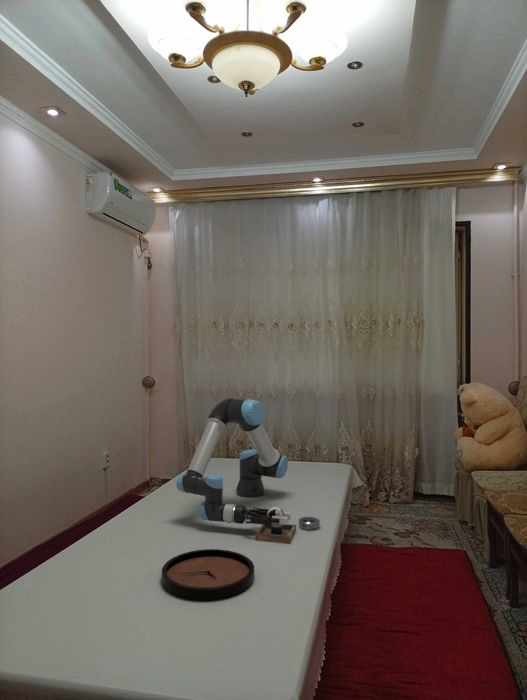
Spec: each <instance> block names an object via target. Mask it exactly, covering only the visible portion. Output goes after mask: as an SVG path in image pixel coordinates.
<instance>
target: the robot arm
mask: <svg viewBox="0 0 527 700" xmlns="http://www.w3.org/2000/svg"><path fill="white" fill-rule="evenodd" d="M264 418H265V413H264V407H263V405H262V403H261V402H259V400H255V399H249V398H248V399H246V398H245V399H244V398H232V397H231V398H230V397H229V398H225V399H223V400H221V401H220V402H218V403H217V404H216V405H215V406H214V407H213V409H211V411H210V413H209V415H208V417H207V419H206V421H207V425H206V426H205V428H204V432H203V434H202V436H201V439H200V440H199V443H198V445H197V447H196V449H195V452H194V454H193V456H192V459H191V461H190V463H189V466H188V469H187V470H186V472H185V473H184V474H180V475H179V476H178V477H177V480H176V488H177V490H178V491H179V492H182V493H186V494H190V495H191V494H192V495H196V496H197V495H198V496H203V497H204V501H202V502H201V504H200V505H199V513H198V515H199V518H200V519H201V520H204V521H209V522H222V523H227V524H234V523H235V524H239V525H240V524H242V525H243V524H244V523H245V524H253V525H261V526H262V525H270V526H271V525H272V523H274V524H285V525H288V524H289V521H291V519H292V518H291V514H292V513H289V512H284V514H285V516H286V517H280V515H279V513H278V511H277V510H272V511H271V512H269V514H268V515H269V517H268V516H267V513H268V511H269V509H270V508H269V509H268V508H259V507H253V508H252V509H251V508H250V509H247V507H246V506H245V505H244V504H234V503H233V504H232V503H224V501H223V499H224V498H223V497H224V492H223V491H224V490H223V489H224V483H223V481H224V480H223V476H222V475H221V474H217V473H216V474H215V473H211V474H207V475H205V477H204V474H205V472H206V470H207V469H208V465H209V462H210V460H211V458H212V455H213V453H214V450H215V448H216V446H217V445H218V444H217V443H218V441H219V439H220V437H221V434H222V431H223V430H225V429H226V428H227V425H229V423H231V424H237V425H238V427H239V428H240V430H241V431H243V432H245V433H246V435H247V437H248V438H249V441H250V442H251V444H252V446H253V448H252V449H246V450H242V451H241V452H240V453H239V480H238V481H237V483H238V484H237V486H236V488H235V490H236V491H235V493H236V495H237V496H240V497H243V498H258V497H261V496H263V495H265V494H266V493H265V491H266V490H265V486H264V482H263V480H262V477H269V478H274V479H283V478H284V477H285V475H286V473H287V471H288V466H289V460H288V457H287V456H286V455H285V454H283V455H282V454H281V453H280V451H279V450H278V449H277V448H275V447H274V446H273V444H272V442H271V440H270V438H269V436H268V434H267V432H266V429H265V428H264V426H263V424H262V423H263V420H264Z"/></svg>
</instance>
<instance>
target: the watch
mask: <svg viewBox="0 0 527 700" xmlns="http://www.w3.org/2000/svg"><path fill="white" fill-rule="evenodd" d="M272 510H276V512H278V513H279V515H280V517H286V516H285V514H284V513H285V511H284V510H283V509H282V508H281V507H278V506H273V507H270V508H269V511H268V513H267V516H268V517H269V515H268V514H269V512H271V511H272ZM282 526H283V524H272V525H271V534H275V535H282Z"/></svg>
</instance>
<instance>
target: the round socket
mask: <svg viewBox="0 0 527 700" xmlns="http://www.w3.org/2000/svg"><path fill="white" fill-rule="evenodd" d="M298 528H299V529H300V530H302V531H307V532H313V531H317V530H319V529H320V519H319V518H317V517H314V516H303V517H300V518H299V519H298Z"/></svg>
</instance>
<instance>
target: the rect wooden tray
mask: <svg viewBox="0 0 527 700" xmlns="http://www.w3.org/2000/svg"><path fill="white" fill-rule="evenodd" d="M272 524H274V523H272ZM295 532H297V524H292V523H291V524H289V523H288V525H285V524H283V526H282V535H275V534H271V526H270V525H262V524H261V526H260V527H259V528H258V529H257V531H256V532H255V541H259V542H261V541H262V542H267V543H268V542H269V543H278V544H286V543H287V544H288V545H289V544H291V542H292V540H293V538H294V536H295V535H296V533H295ZM287 544H286V545H287Z"/></svg>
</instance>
